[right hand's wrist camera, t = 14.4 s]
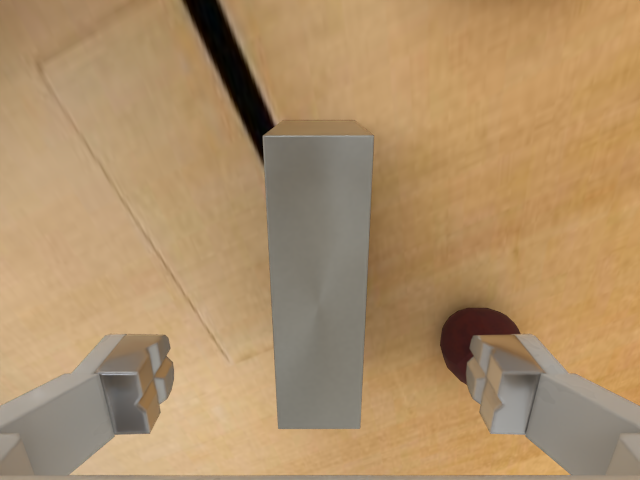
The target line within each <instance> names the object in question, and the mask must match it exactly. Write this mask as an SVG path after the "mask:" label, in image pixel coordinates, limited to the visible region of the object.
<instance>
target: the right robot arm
mask: <svg viewBox="0 0 640 480" xmlns="http://www.w3.org/2000/svg"><path fill="white" fill-rule="evenodd" d="M169 350H170V344H169V339H168V337H167V336H166V335H150V334H109V335H105V336H104V337H103V338H102V340H101V341H100V342H99V343H98V344H97V345H96V346H95V347H94V349H93V350H92V351H91V352H90V353H89V354H88V355H87V356H86V357H85V359H84V360H83V361H82V362H81V363H80V364H79V365H78V366H77V367H76V369H75V370H74V371H73V372H72V373H71V374H63V375H61V376H59V377H57V378H55V379H53V380H51V381H49V382H47V383H45V384H43V385H41V386H39V387H37V388H35V389H33V390H31V391H29V392H27V393H25V394H23V395H21V396H19V397H17V398H15V399H13V400H11V401H9V402H7V403H5V404H3V405H1V406H0V480H640V406H639V405H637V404H635V403H633V402H631V401H629V400H627V399H625V398H623V397H621V396H619V395H617V394H615V393H613V392H611V391H609V390H607V389H605V388H603V387H601V386H599V385H597V384H595V383H593V382H591V381H589V380H587V379H585V378H583V377H581V376H579V375H577V374H569V373H568V372H567V371H566V370H565V369H564V367H563V366H562V365H561V364H560V363H559V362H558V361H557V360H556V359H555V357H554V356H553V355H552V354H551V353H550V352H549V351H548V350H547V349H546V347H545V346H544V345H543V344H542V343H541V342H540V341H539V340H538V338H537V337H536V336H534V335H532V334H511V335H473V337H472V339H471V343H470V350H471V352H472V354H473V355H474V356H473V357H472V358H471V359H470V360H469V361H468V362H467V368H466V380H467V386H468V389H469V392H470V394H471V396H472V398H473V399H474V400H475V401H476V402H478V403H479V404H481V406H480V414H481V416H482V418H483V420H484V422H485V424H486V426H487V428H488V430H489V432H490V434H522V435H525V436H526V437H527V438H528V439H529V440H530V441H532V442H533V443H534V444H535V445H536V446H537V447H539V448H540V449H541V450H542V451H543V452H545V453H546V454H547V455H548V456H549V457H551V458H552V459H553V460H554V461H555V462H557V463H558V464H559V465H560V466H561V467H562V468H564V469H565V470H566V471H567V472H568V473H570V474H571V475H69V474H71V473H72V472H73V471H74V470H75V469H76V468H78V467H79V466H80V465H81V464H82V463H84V462H85V461H86V460H87V459H88V458H90V457H91V456H92V455H93V454H94V453H96V452H97V451H98V450H99V449H100V448H101V447H103V446H104V445H105V444H106V443H107V442H109V441H110V440H111V439H112V438H113V437H114V435H118V434H150V432H151V430H152V428H153V426H154V424H155V422H156V420H157V418H158V416H159V414H160V406H159V404H161V403H162V402H164V401H165V400H166V399H167V398H168V396H169V394H170V392H171V390H172V385H173V381H174V367H173V362H172V361H171V360H170V359H169V358H168V357H167V356H166V355H167V354H168V352H169Z"/></svg>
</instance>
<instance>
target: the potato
mask: <svg viewBox="0 0 640 480" xmlns="http://www.w3.org/2000/svg"><path fill="white" fill-rule="evenodd" d="M511 334H520V332H519V329H518V328H517V326H516V325H515V323H514V322H513V321H512V320H511V319H510V318H508V317H507V316H506V315H504V314H502V313H501V312H498V311H495V310H492V309H489V308H466V309H463V310H460V311H457V312H456V313H454V314H453V315H452V316H450V317H449V318H448V320H447V321H446V323H445V324H444V326H443V328H442V334H441V343H440V346H441V350H442V354H443V357H444V360H445V363H446V365H447V368H448V369H449V370H450V371H451V372H452V373H453V374H454V375H455V376H456V377H457V378H458V379H459V380H460V381H462V382H463V383H465V384H466V385H467V380H466V368H467V362H468V361H469V360H470V359H471V358H472V357H473V356H474V355H473V354H472V352H471V350H470V343H471V339H472V337H473V335H511Z"/></svg>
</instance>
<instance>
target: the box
mask: <svg viewBox="0 0 640 480" xmlns="http://www.w3.org/2000/svg"><path fill="white" fill-rule="evenodd" d="M373 149H374V135H373V134H371V133H370V132H369V131H368V130H366V129H365V128H364V127H363V126H361V125H360V124H359V123H357V122H356V121H355V120H283V121H282V122H280V123H279V124H278V125H276V126H275V127H274V128H272V129H271V130H270V131H268V132H267V133H266V134H265V135H263V151H264V170H265V189H266V208H267V227H268V246H269V265H270V284H271V303H272V322H273V341H274V360H275V379H276V398H277V417H278V429H360V422H361V401H362V380H363V359H364V338H365V317H366V296H367V275H368V254H369V233H370V212H371V191H372V170H373Z"/></svg>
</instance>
